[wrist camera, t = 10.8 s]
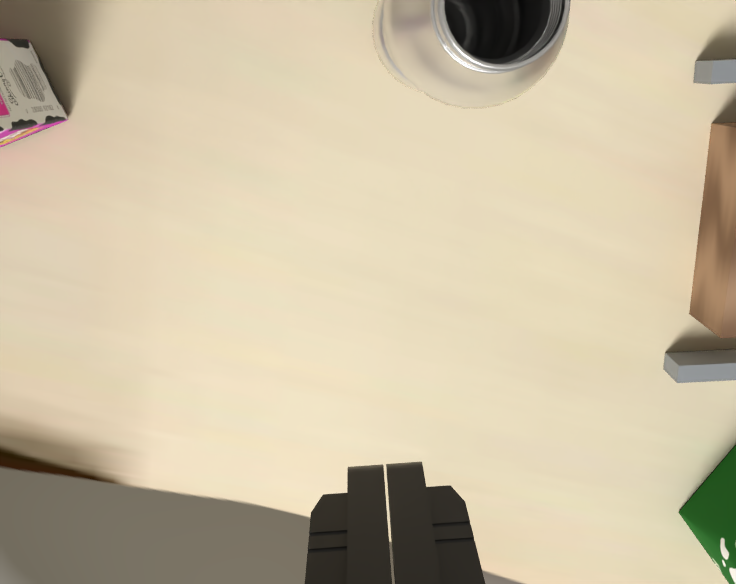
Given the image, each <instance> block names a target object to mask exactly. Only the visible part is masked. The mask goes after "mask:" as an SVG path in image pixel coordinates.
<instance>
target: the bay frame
mask: <svg viewBox="0 0 736 584" xmlns="http://www.w3.org/2000/svg"><path fill="white" fill-rule="evenodd" d="M694 83H702V84H722V83H736V59H722V60H703V61H696V64H695V73H694ZM664 370H665V371H666V372H667V373H668V374H669V375H670V376H671V377H672V378H673V379H674V380H675V381H676V382H677V383H686V382H706V381H726V380H736V349H730V350H710V351H690V352H670V353H665V360H664Z"/></svg>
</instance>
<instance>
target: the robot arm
mask: <svg viewBox="0 0 736 584" xmlns="http://www.w3.org/2000/svg"><path fill="white" fill-rule="evenodd" d="M386 466H387V481H388V496H389V510H390V525H391V539H392V552H393V565H394V577H395V584H485V581H484V577H483V573H482V569H481V565H480V561H479V557H478V553H477V549H476V545H475V541H474V536H473V532H472V528H471V525H470V520H469V516H468V512H467V508H466V504H465V501H464V500H463V499H462V498H461V497H460V496H459V495H458V493H457V492H456V491H455V490H454V489H453V488H452V487H451V486H436V487H426V483H425V477H424V471H423V466H422V462H411V463H397V464H386ZM309 534H310V536H309V543H308V554H307V566H306V577H305V584H392V578H391V565H390V550H389V537H388V523H387V510H386V496H385V482H384V469H383V465H371V466H356V467H348V493H339V494H325V495H323V496H322V497H321V499H320V500H319V502H318V503H317V505H316V506H315V508H314V509H313V511H312V512H311V519H310V531H309Z"/></svg>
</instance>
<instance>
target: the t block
mask: <svg viewBox="0 0 736 584" xmlns="http://www.w3.org/2000/svg"><path fill="white" fill-rule="evenodd" d="M689 314H690V315H692V316H693V317H694V318H695V319H697V320H698V321H699V322H701V323H702V324H703V325H704V326H706V327H707V328H708V329H710V330H711V331H712V332H713V333H715V334H716V335H717V336H719V337H720V338H733V337H736V122H729V123H712V124H711V132H710V141H709V149H708V158H707V167H706V175H705V184H704V192H703V201H702V210H701V218H700V227H699V235H698V244H697V253H696V261H695V270H694V278H693V287H692V296H691V304H690V313H689Z"/></svg>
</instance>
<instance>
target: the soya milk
mask: <svg viewBox="0 0 736 584" xmlns="http://www.w3.org/2000/svg"><path fill="white" fill-rule="evenodd" d="M679 514H680V515H681V516H682V518H683V519H684V521H685V522H686V523H687V525H688V526H689V528H690V529H691V530H692V532H693V533H694V535H695V536H696V538H697V539H698V540H699V542H700V543H701V545H702V546H703V547H704V549H705V550H706V552H707V553H708V554H709V556H710V557H711V559H712V560H713V562H714V563H715V564H716V566H717V567H718V569H719V570H720V571H721V573H722V574H723V576H724V577H725V578H726V580H727V581H728V583H729V584H736V445H735V446H734V448H733V449H732V450H731V451H730V452H729V453H728V455H727V456H726V457H725V458H724V459H723V461H722V462H721V463H720V464H719V465H718V466H717V468H716V469H715V470H714V471H713V472H712V474H711V475H710V476H709V477H708V478H707V479H706V481H705V482H704V483H703V484H702V485H701V486H700V488H699V489H698V490H697V491H696V492H695V494H694V495H693V496H692V497H691V498H690V499H689V501H688V502H687V503H686V504H685V505H684V506H683V508H682V509H681V510H680V511H679Z"/></svg>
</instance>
